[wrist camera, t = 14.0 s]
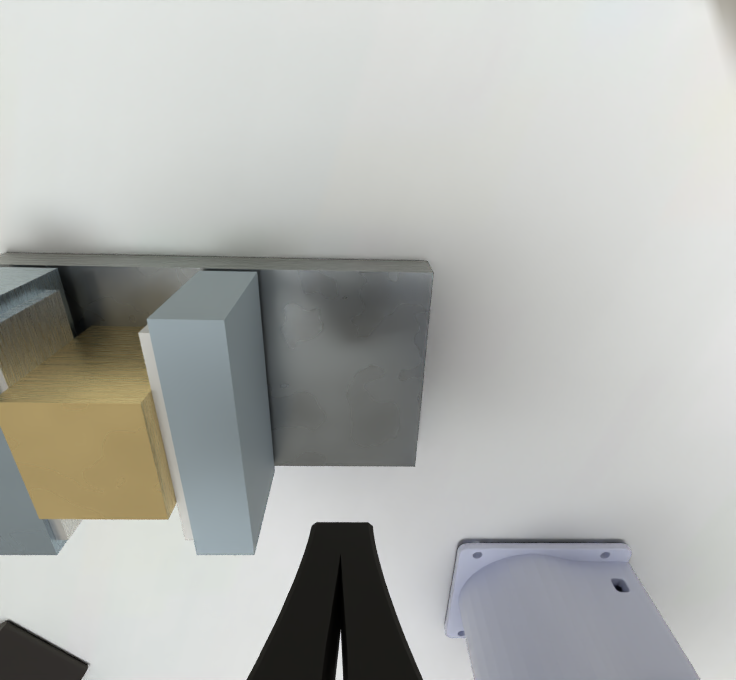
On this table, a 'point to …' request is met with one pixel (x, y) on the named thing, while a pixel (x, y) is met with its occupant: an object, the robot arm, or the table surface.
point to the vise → (281, 348)
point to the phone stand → (34, 658)
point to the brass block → (90, 431)
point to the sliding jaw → (213, 407)
